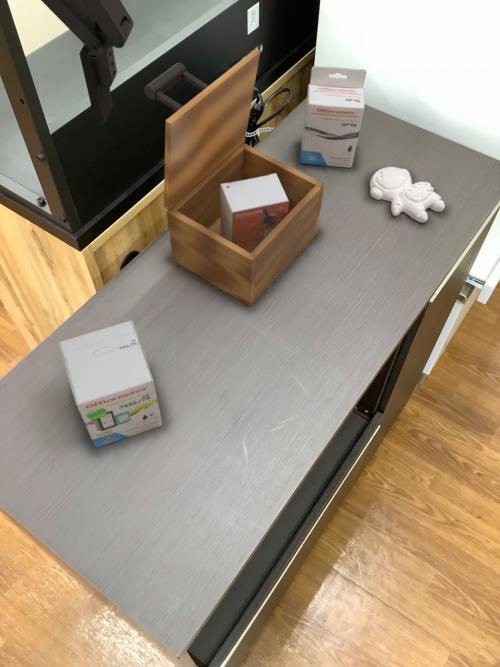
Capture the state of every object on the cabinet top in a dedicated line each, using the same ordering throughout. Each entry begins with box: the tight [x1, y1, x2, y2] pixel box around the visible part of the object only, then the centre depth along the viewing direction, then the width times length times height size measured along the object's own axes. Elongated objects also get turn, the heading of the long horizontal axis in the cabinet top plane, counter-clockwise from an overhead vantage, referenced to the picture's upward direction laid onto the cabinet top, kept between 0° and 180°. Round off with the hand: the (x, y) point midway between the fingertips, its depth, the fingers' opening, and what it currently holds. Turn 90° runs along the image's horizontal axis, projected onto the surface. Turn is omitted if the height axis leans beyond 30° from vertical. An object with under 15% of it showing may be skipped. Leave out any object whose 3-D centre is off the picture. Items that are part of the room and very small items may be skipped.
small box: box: [220, 173, 289, 253], centre depth 86 cm, size 8×6×10 cm
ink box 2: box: [300, 65, 367, 169], centre depth 96 cm, size 8×5×15 cm, turn 86°
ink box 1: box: [58, 320, 163, 449], centre depth 72 cm, size 8×8×12 cm
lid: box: [144, 48, 261, 211], centre depth 79 cm, size 15×17×9 cm
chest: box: [166, 142, 326, 308], centre depth 87 cm, size 14×17×10 cm
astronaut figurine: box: [369, 166, 446, 224], centre depth 96 cm, size 9×12×3 cm
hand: (28, 105), depth 54 cm, fingers open, 13 cm apart
